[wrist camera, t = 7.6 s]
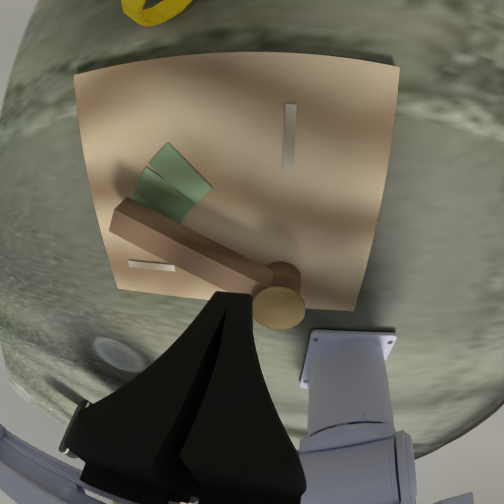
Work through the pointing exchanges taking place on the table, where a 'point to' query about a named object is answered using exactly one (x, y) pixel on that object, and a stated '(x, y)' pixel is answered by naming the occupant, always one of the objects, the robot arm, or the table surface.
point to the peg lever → (214, 263)
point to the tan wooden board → (244, 162)
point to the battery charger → (62, 446)
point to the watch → (153, 11)
